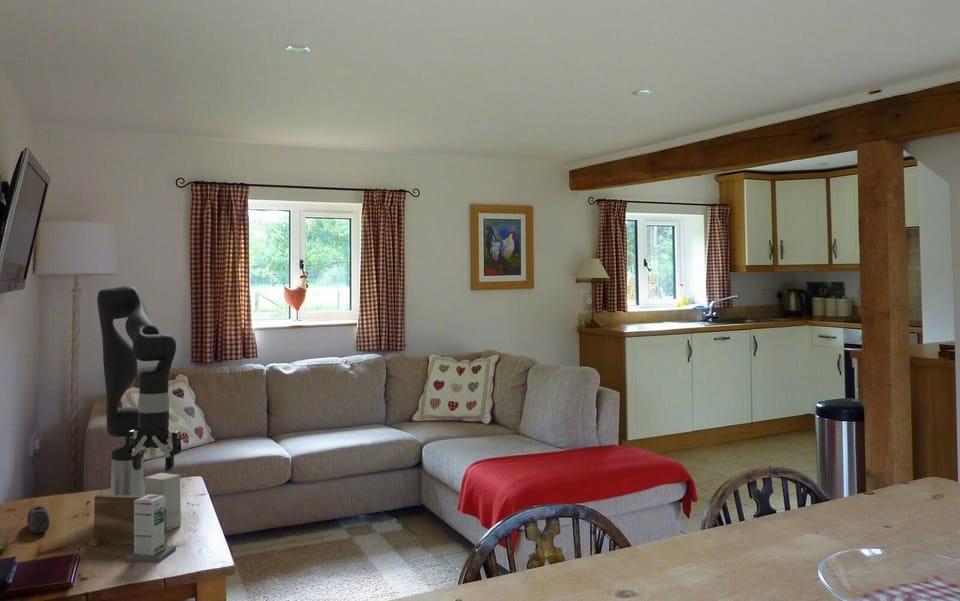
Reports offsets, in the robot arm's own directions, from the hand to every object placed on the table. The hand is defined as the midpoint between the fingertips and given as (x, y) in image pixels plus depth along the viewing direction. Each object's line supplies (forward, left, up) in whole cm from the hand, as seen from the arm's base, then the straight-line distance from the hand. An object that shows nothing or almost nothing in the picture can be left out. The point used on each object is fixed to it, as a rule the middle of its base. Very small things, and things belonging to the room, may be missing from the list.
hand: (152, 470), depth 188 cm
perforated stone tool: (-17, -44, -23) cm, 52 cm away
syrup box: (0, 0, -22) cm, 22 cm away
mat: (0, 0, -23) cm, 23 cm away
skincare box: (-22, -9, -23) cm, 33 cm away
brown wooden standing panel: (-8, -12, -23) cm, 27 cm away
